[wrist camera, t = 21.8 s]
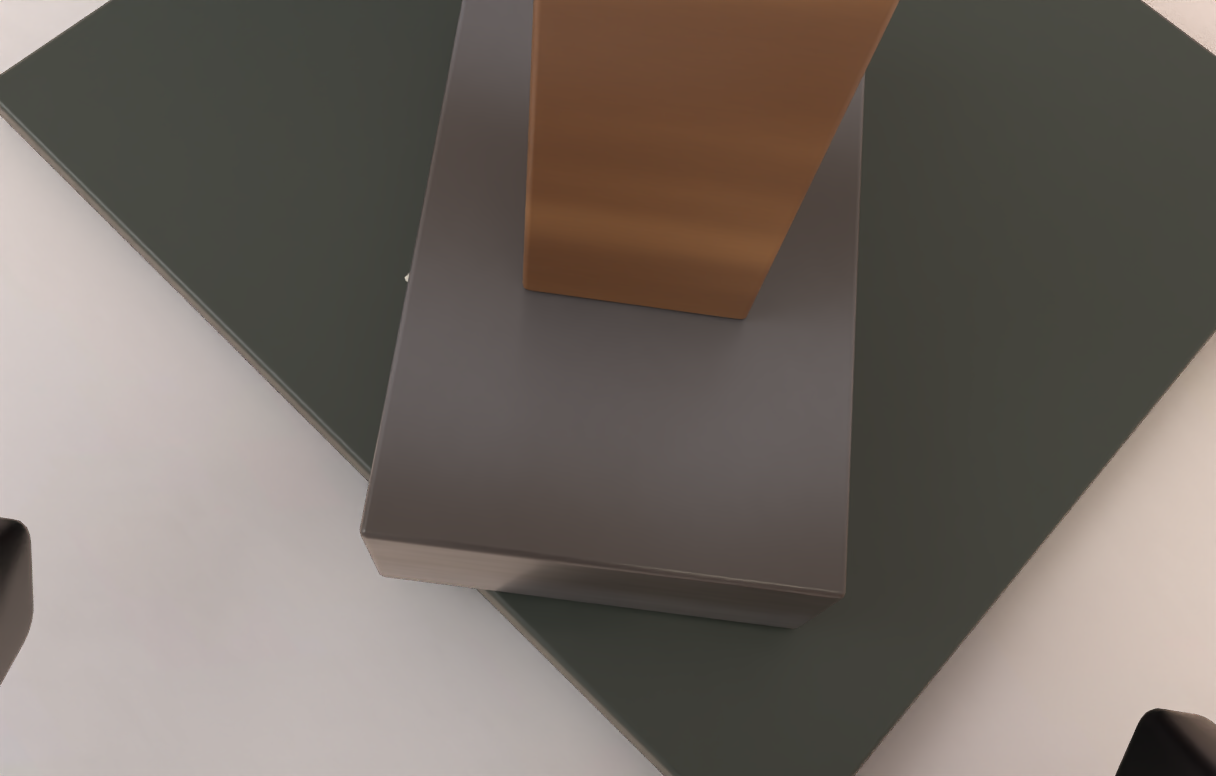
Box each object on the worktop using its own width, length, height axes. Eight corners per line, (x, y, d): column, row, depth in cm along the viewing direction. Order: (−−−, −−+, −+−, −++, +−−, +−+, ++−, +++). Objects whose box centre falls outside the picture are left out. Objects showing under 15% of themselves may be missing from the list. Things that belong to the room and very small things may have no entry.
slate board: (762, 873, 16) (775, 876, 15) (-2, 114, 19) (-25, 82, 18) (1326, 181, 21) (1360, 155, 20) (647, -333, 24) (652, -373, 23)
